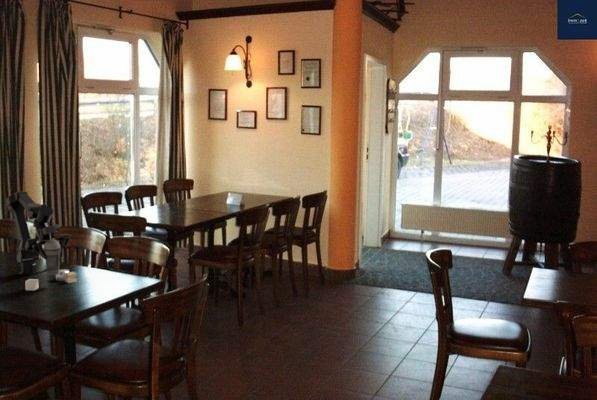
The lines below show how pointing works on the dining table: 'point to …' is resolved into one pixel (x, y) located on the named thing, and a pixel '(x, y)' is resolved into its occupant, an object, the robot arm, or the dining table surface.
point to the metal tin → (61, 275)
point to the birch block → (70, 277)
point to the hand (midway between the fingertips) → (53, 257)
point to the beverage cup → (52, 256)
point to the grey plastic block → (31, 284)
